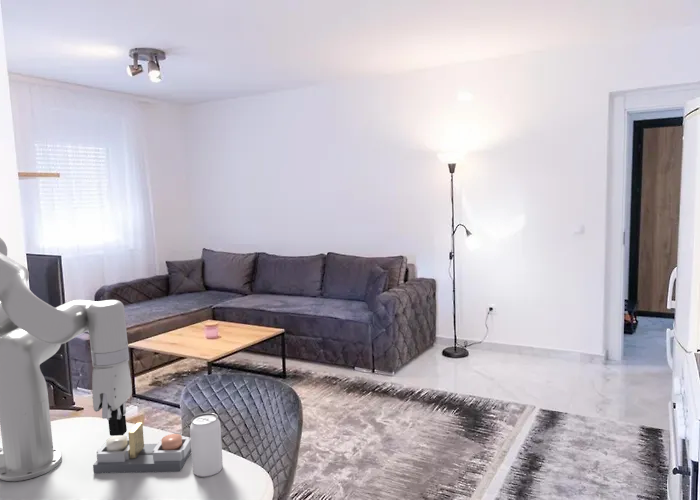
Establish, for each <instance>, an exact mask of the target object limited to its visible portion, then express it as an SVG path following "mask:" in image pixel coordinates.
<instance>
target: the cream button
mask: <svg viewBox="0 0 700 500" xmlns="http://www.w3.org/2000/svg"><path fill="white" fill-rule="evenodd" d="M127 438H128V437H127V435H125V434H124V435H118V436H110V437H109V438H108V439H106V441H105V442H106V447H107V452H111V451H123V450H125V449H126V448H127V446H128V443H127Z"/></svg>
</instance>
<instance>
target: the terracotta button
mask: <svg viewBox="0 0 700 500" xmlns="http://www.w3.org/2000/svg"><path fill="white" fill-rule="evenodd" d="M182 437H183V436H182V435H181V434H180V433H171V434H168V435H164V436H163V437H162V438H161V439H160V440H161V442H162V450H178V449H180V448H181V447H182Z"/></svg>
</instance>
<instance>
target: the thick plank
mask: <svg viewBox="0 0 700 500" xmlns="http://www.w3.org/2000/svg"><path fill="white" fill-rule="evenodd" d="M128 438H129V447H130V458H136V457H137V456H138V454H139V453H140V452H141V451H142V449H143V448H144V444H145V439H144V425H143V422H136V424H135V425H134V426H132V428H131V429H130V430H129V431H128Z"/></svg>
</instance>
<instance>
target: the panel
mask: <svg viewBox="0 0 700 500" xmlns="http://www.w3.org/2000/svg"><path fill="white" fill-rule="evenodd" d="M161 440H162V439H160V440H159V441H158V442H157V443H144V448H143V449H142V451H141V452H140V453H139V454H138V456H137V457H136V458H130V447H129V437H127V443H128V446H127V448H126V449H125V450H123V451H111V452H107V447H106V441H105V442H104V443H103V445H101V446H100V448H98V449H97V451H96V460H95V462H94V463H93V464H92V466H93V467H92V469H93V470H92V471H93V474H95V475H96V474H126V473H127V474H128V473H129V474H132V473H135V474H136V473H141V474H142V473H171V472H172V473H173V472H174V473H176V472H180V473H181V471H182V468H183V467H184V466H185V464H186V462H187V460H188V459H189V456H191V437H190V436H182V447H181V448H180V449H178V450H162V442H161Z"/></svg>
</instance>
